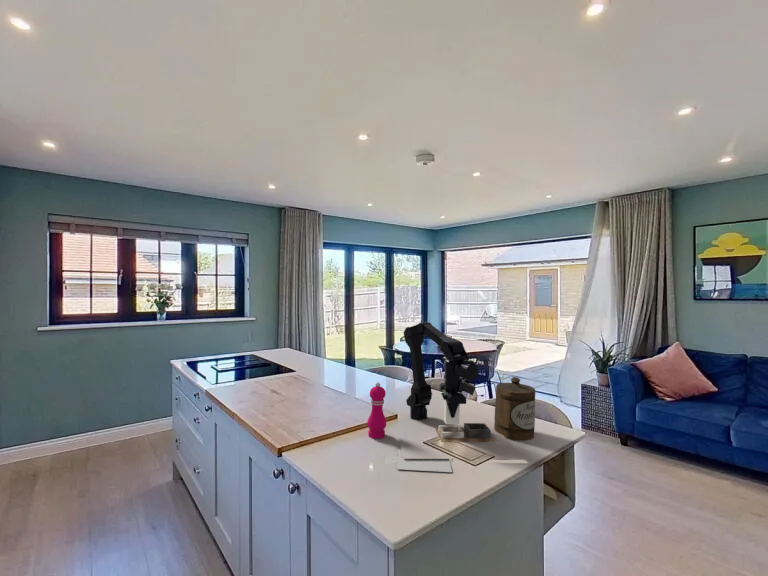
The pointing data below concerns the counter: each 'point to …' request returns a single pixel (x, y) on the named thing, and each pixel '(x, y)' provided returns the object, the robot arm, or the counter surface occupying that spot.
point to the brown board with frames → (465, 433)
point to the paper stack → (419, 463)
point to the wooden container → (515, 410)
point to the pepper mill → (377, 413)
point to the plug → (448, 417)
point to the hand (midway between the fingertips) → (451, 415)
